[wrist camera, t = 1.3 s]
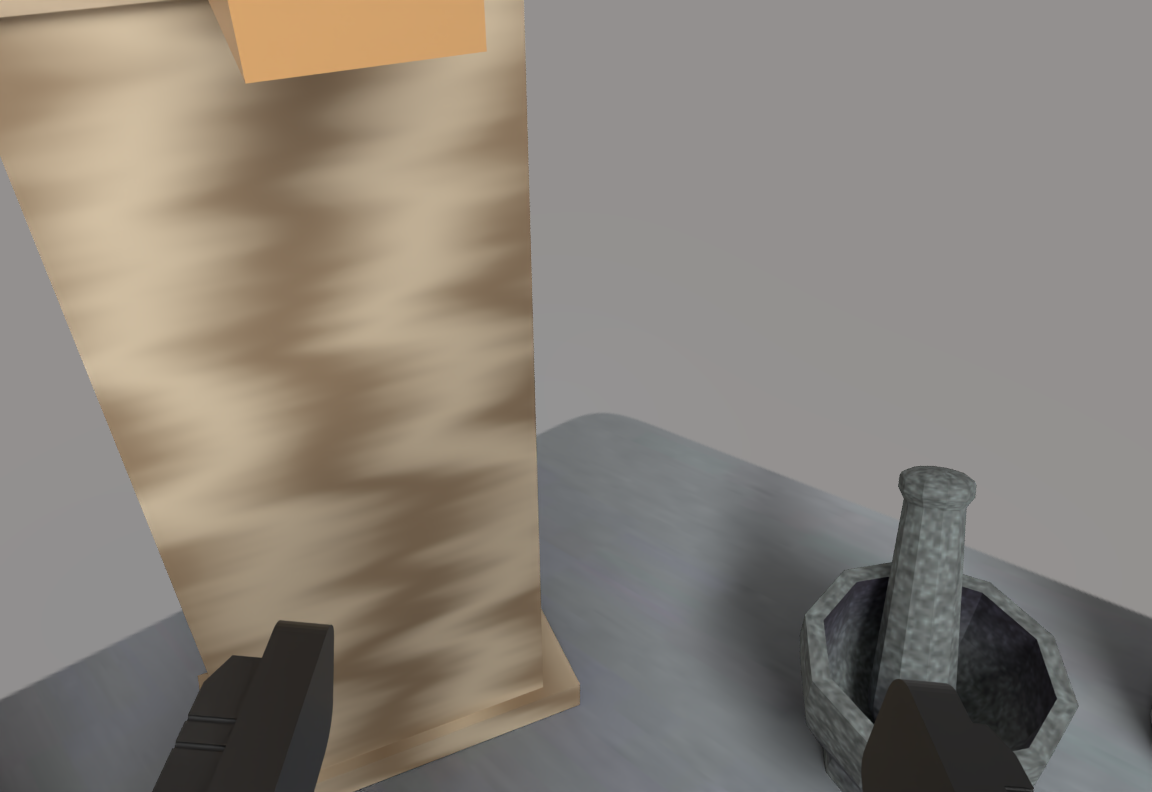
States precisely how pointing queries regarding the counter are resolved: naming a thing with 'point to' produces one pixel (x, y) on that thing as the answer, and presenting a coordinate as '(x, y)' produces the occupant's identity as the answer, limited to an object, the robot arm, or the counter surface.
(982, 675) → the mortar and pestle
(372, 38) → the white box with knobs
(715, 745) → the counter surface
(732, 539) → the counter surface
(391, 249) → the dock pedestal
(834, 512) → the counter surface
